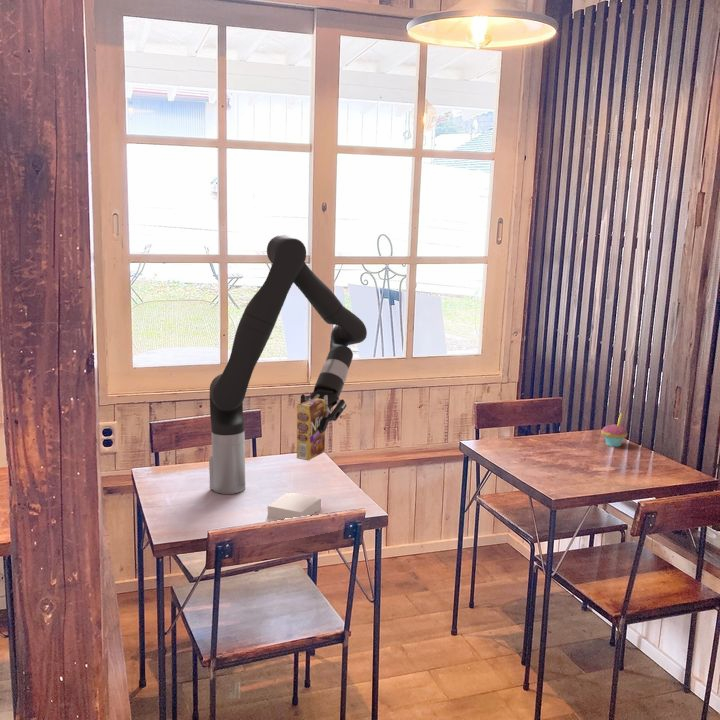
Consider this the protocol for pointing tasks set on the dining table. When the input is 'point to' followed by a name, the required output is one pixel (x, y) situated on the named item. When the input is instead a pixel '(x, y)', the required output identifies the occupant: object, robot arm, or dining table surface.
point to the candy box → (310, 429)
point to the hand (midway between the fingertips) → (312, 430)
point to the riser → (294, 506)
